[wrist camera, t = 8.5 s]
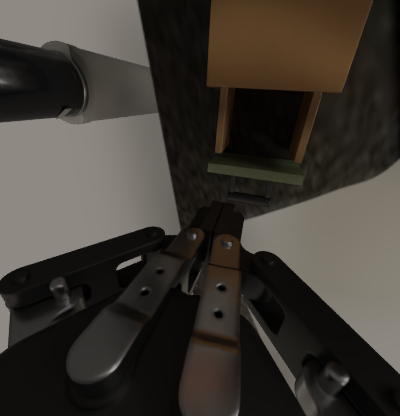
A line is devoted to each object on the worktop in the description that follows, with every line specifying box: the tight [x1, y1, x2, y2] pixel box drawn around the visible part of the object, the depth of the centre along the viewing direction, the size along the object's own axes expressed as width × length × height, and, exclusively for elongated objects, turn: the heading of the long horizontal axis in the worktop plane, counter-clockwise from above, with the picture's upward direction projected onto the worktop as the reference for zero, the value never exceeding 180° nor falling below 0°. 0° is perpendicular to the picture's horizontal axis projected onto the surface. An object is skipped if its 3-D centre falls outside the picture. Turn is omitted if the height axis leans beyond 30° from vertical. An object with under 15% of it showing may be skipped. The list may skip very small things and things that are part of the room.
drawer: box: [208, 87, 323, 207], centre depth 26 cm, size 18×11×8 cm, turn 177°
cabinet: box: [206, 0, 373, 94], centre depth 20 cm, size 15×13×10 cm
